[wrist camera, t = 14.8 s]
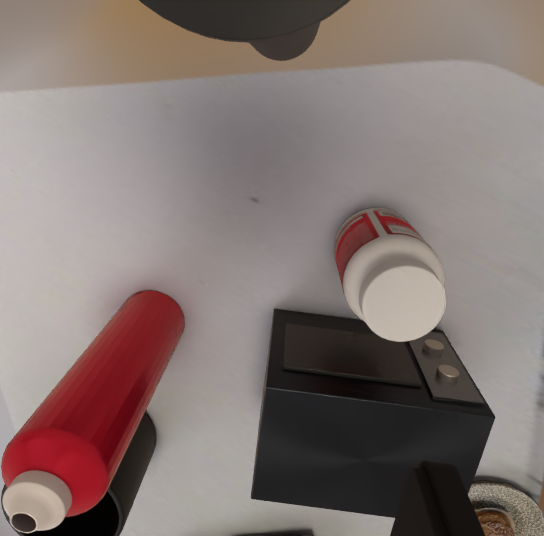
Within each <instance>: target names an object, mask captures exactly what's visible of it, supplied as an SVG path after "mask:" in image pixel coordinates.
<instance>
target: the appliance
mask: <svg viewBox="0 0 544 536" xmlns="http://www.w3.org/2000/svg"><path fill="white" fill-rule="evenodd" d="M494 419H495V416H494V414H493V412H492V411H491V409H490V407H489V406H488V404H487V402H486V401H485V399H484V397H483V396H482V394H481V393H480V391H479V389H478V388H477V386H476V384H475V383H474V381H473V379H472V378H471V376H470V374H469V373H468V371H467V370H466V368H465V366H464V365H463V363H462V361H461V360H460V358H459V356H458V355H457V353H456V352H455V350H454V348H453V347H452V345H451V343H450V342H449V340H448V338H447V337H446V335H445V333H444V332H443V331H440V330H431V331H430V332H429V333H427V334H426V335H424V336H422V337H420V338H417V339H415V340H411V341H404V342H397V341H391V340H387V339H385V338H382V337H380V336H378V335H377V334H376V333H374V332H373V331H372V330H371V329H370V328H369V326H368V325H367V324H366V322H364V321H362V320H355V319H347V318H339V317H332V316H324V315H316V314H308V313H301V312H293V311H285V310H278V309H274V313H273V321H272V328H271V336H270V343H269V351H268V358H267V366H266V373H265V381H264V388H263V396H262V404H261V413H260V422H259V430H258V439H257V448H256V457H255V465H254V474H253V483H252V491H251V499H256V500H264V501H271V502H279V503H287V504H294V505H302V506H309V507H317V508H325V509H332V510H340V511H347V512H355V513H363V514H370V515H378V516H385V517H393V518H395V517H396V514H397V510H398V507H399V503H400V500H401V496H402V493H403V489H404V486H405V482H406V479H407V475H408V472H409V469H410V468H411V467H414V468H418V466H419V464H420V462H421V461H432V462H439V463H447V464H453V465H454V466H455V467H456V468H457V470H458V472H459V475H460V477H461V479H462V482H463V484H464V486H465V489H466V491H467V494H469V491H470V488H471V485H472V482H473V480H474V477H475V474H476V471H477V468H478V465H479V462H480V460H481V457H482V454H483V451H484V448H485V445H486V442H487V439H488V437H489V434H490V431H491V428H492V425H493V422H494Z"/></svg>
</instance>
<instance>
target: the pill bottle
mask: <svg viewBox="0 0 544 536" xmlns="http://www.w3.org/2000/svg"><path fill="white" fill-rule="evenodd" d="M334 254H335V260H336V263H337V267H338V271H339V275H340V279H341V283H342V287H343V291H344V294H345V298H346V300H347V303H348V305H349V307H350V308H351V310H352V311H353V312H354V313H355V315H356V316H358V317H359V318H360V319H361V320H363V321H364V322H366V324H367V325H368V326H369V328H370V329H371V330H372V331H373V332H374V333H376V334H377V335H378V336H380V337H382V338H385V339H387V340H391V341H397V342H404V341H411V340H415V339H417V338H420V337H422V336H424V335H426V334H427V333H429V332H430V331H431V330H432V329H434V328H435V327H436V325H437V324H438V323H439V321H440V320H441V318H442V316H443V314H444V311H445V308H446V293H445V290H444V282H445V278H444V271H443V267H442V264H441V262H440V260H439V258H438V256H437V255H436V253H435V252H434V251H433V250H432V248H431V247H430V246H429V245H428V244H427V243H426V242H425V241H424V240H423V238H422V237H421V236H420V235H419V234H418V233H417V232H416V231H415V229H414V228H413V227H412V226H411V225H410V224H409V223H408V222H407V221H406V220H405V219H404V218H403V217H402V216H401V215H399V214H398V213H396V212H394V211H391V210H388V209H384V208H371V209H366V210H362V211H360V212H358V213H356V214H354V215H352V216H351V217H350V218H348V219H347V220H346V221H345V222H344V223H343V225H342V226H341V227H340V229H339V231H338V233H337V235H336V239H335V243H334Z"/></svg>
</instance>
